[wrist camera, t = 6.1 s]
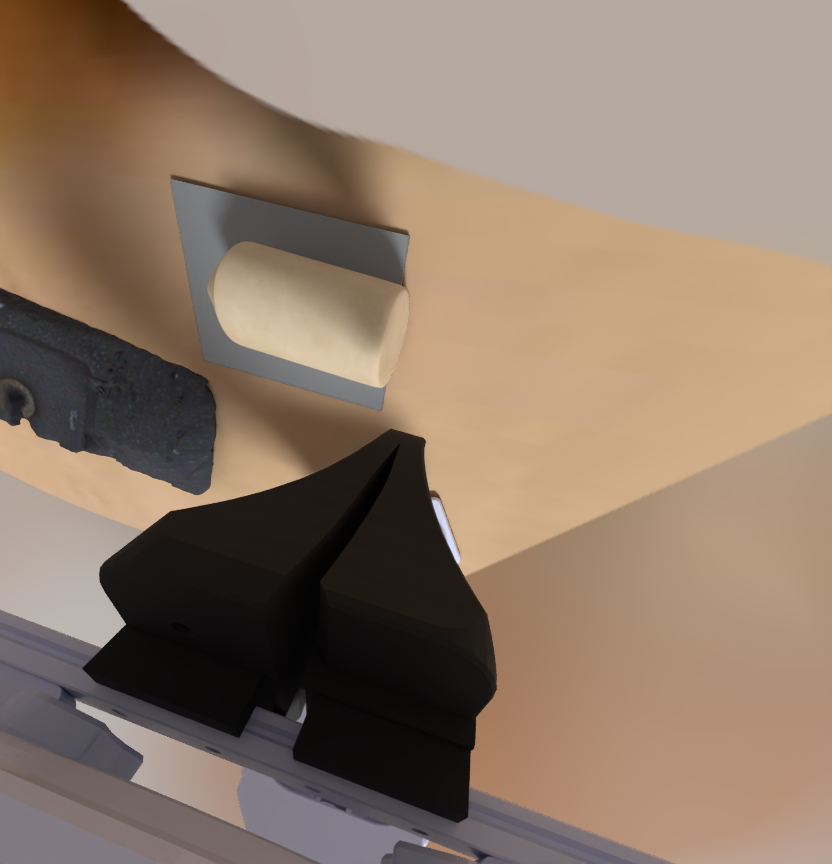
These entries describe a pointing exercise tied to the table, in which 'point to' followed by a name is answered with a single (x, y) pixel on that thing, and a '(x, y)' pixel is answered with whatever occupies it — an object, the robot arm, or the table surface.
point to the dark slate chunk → (104, 395)
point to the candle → (310, 312)
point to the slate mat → (288, 231)
